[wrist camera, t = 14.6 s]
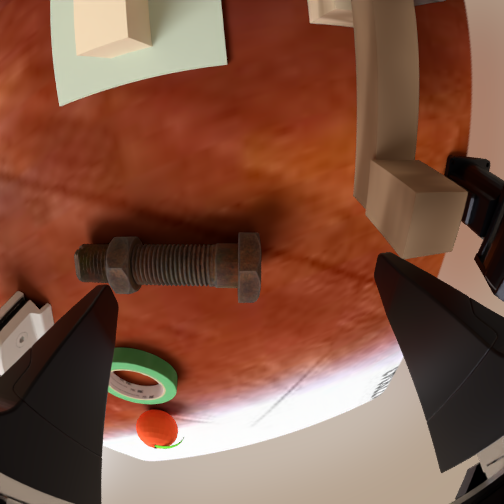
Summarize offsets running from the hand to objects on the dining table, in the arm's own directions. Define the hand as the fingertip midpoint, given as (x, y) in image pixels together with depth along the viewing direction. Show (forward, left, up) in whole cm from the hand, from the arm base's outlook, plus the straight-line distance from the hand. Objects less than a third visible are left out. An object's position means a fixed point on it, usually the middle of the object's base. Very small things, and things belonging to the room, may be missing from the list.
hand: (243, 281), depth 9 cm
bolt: (+6, +7, -14) cm, 16 cm away
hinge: (+29, +17, -13) cm, 37 cm away
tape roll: (+16, +25, -14) cm, 33 cm away
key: (-8, -5, -8) cm, 12 cm away
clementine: (+17, +38, -13) cm, 44 cm away
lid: (+6, -13, -14) cm, 20 cm away
